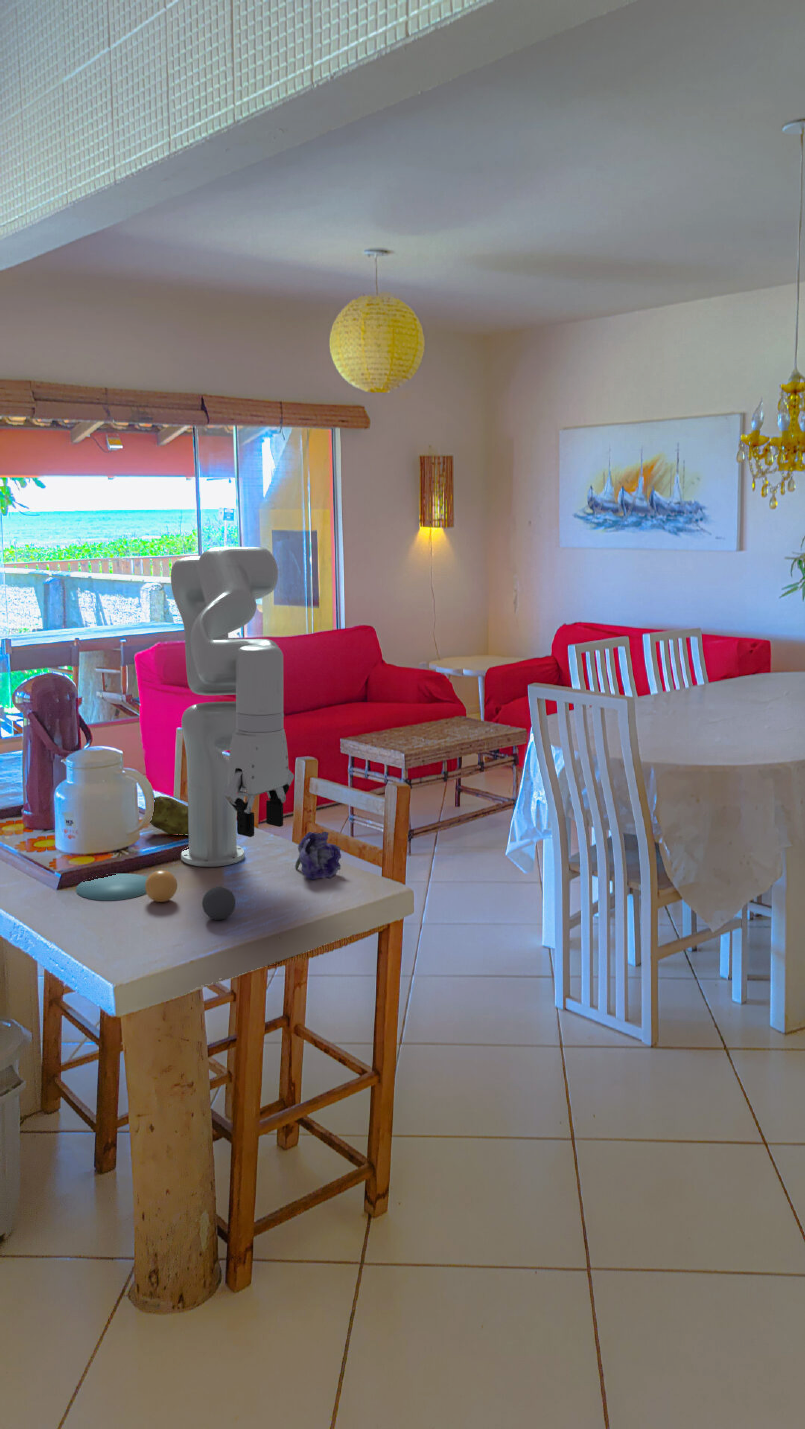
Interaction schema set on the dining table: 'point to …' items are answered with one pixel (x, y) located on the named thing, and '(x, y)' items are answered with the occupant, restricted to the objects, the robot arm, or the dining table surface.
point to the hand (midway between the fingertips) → (260, 829)
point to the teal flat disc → (113, 887)
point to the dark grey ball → (218, 903)
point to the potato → (170, 816)
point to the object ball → (161, 886)
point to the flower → (318, 856)
